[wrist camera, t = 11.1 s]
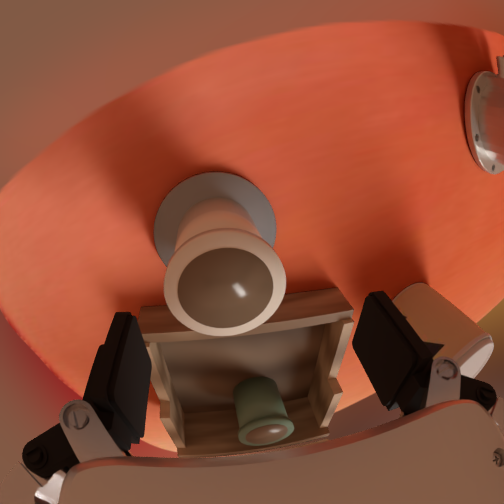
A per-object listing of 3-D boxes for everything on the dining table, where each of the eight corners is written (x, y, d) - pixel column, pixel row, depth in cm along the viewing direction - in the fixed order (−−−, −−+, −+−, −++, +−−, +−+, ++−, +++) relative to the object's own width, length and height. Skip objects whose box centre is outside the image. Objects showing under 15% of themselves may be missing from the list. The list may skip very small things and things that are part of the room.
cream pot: (169, 196, 18) (153, 240, 12) (259, 190, 19) (290, 230, 13) (179, 275, 21) (174, 341, 15) (258, 268, 22) (282, 330, 16)
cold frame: (141, 306, 23) (128, 367, 16) (337, 287, 25) (373, 336, 19) (177, 412, 31) (179, 458, 25) (311, 394, 34) (328, 436, 27)
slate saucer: (148, 176, 18) (146, 179, 17) (275, 169, 19) (278, 171, 19) (164, 286, 22) (163, 291, 21) (271, 276, 23) (274, 281, 23)
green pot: (233, 375, 27) (243, 424, 22) (285, 373, 29) (301, 418, 23) (227, 404, 30) (235, 448, 24) (273, 402, 31) (285, 443, 25)
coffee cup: (376, 295, 27) (442, 376, 16) (438, 264, 27) (506, 324, 17) (375, 348, 32) (421, 419, 21) (430, 318, 32) (480, 376, 21)
